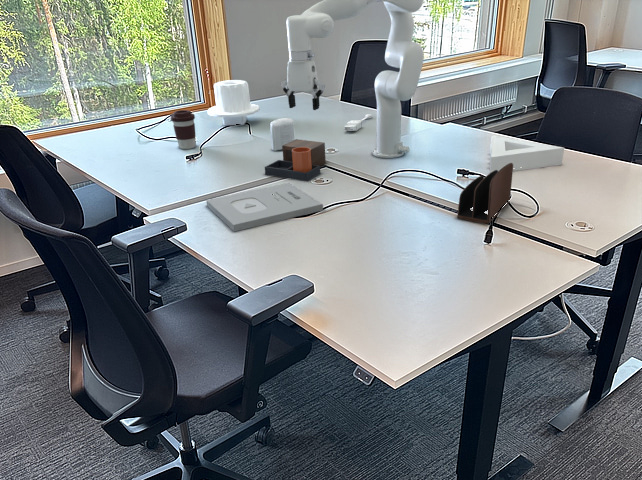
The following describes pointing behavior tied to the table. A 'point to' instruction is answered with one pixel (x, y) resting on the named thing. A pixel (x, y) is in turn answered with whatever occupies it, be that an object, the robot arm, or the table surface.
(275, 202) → the award plaque
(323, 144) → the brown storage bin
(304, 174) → the divided tray
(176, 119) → the coffee cup
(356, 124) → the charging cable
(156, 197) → the table surface
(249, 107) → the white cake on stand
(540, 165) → the triangle block
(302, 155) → the cup
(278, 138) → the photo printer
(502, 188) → the letter holder
